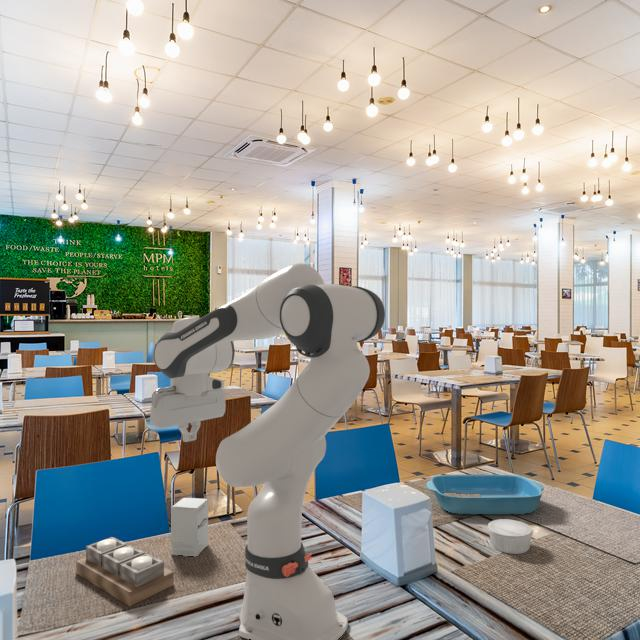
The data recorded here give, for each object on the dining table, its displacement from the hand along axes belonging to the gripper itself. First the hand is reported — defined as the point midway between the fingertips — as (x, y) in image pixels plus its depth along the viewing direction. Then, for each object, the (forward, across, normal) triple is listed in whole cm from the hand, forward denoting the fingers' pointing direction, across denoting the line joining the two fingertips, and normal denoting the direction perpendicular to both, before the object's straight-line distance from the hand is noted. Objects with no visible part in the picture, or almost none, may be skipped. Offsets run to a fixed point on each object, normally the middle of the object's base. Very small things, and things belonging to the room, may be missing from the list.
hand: (189, 440), depth 125 cm
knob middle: (+28, -13, +8) cm, 32 cm away
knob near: (+28, -13, 0) cm, 31 cm away
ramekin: (+31, +59, -58) cm, 89 cm away
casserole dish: (+32, +85, -42) cm, 99 cm away
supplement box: (+31, +6, +8) cm, 33 cm away
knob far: (+28, -13, +15) cm, 35 cm away
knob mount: (+31, -13, +8) cm, 35 cm away
